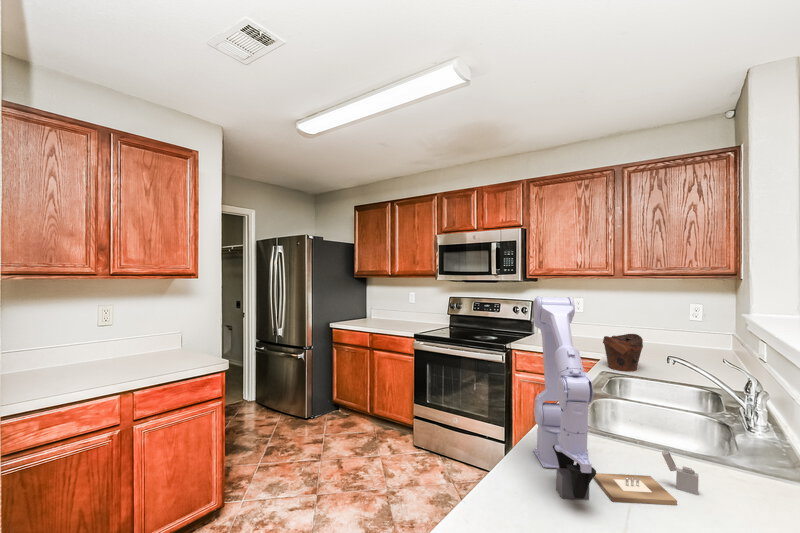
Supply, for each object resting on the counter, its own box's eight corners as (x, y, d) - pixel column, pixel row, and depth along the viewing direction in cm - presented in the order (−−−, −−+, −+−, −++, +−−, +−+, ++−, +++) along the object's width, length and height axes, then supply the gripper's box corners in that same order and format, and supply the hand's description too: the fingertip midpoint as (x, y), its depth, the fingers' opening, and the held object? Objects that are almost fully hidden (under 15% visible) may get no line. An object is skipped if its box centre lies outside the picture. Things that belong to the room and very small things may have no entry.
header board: (592, 476, 96) (592, 465, 96) (650, 479, 96) (650, 468, 96) (612, 501, 86) (612, 489, 86) (677, 505, 86) (677, 492, 86)
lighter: (697, 491, 91) (698, 458, 91) (697, 495, 89) (698, 461, 89) (661, 481, 95) (662, 448, 95) (661, 484, 94) (661, 451, 94)
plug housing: (556, 489, 91) (556, 468, 91) (582, 490, 90) (582, 469, 90) (561, 498, 87) (562, 476, 87) (588, 499, 87) (589, 477, 87)
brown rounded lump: (597, 368, 199) (599, 334, 199) (606, 361, 214) (608, 329, 214) (637, 376, 187) (639, 339, 187) (644, 368, 203) (646, 334, 202)
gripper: (545, 415, 96) (544, 469, 96) (568, 442, 82) (566, 506, 82) (574, 416, 96) (573, 471, 96) (602, 443, 81) (600, 508, 81)
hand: (572, 487), depth 89 cm, fingers open, 7 cm apart
